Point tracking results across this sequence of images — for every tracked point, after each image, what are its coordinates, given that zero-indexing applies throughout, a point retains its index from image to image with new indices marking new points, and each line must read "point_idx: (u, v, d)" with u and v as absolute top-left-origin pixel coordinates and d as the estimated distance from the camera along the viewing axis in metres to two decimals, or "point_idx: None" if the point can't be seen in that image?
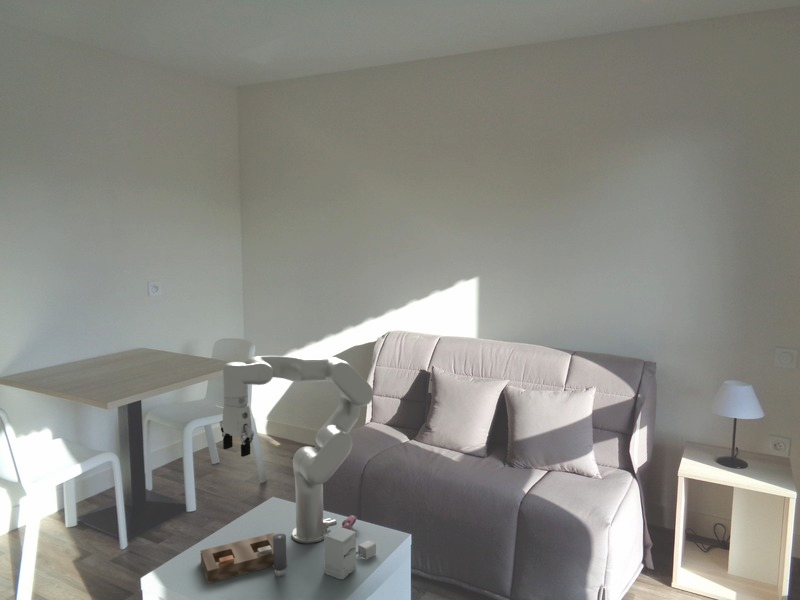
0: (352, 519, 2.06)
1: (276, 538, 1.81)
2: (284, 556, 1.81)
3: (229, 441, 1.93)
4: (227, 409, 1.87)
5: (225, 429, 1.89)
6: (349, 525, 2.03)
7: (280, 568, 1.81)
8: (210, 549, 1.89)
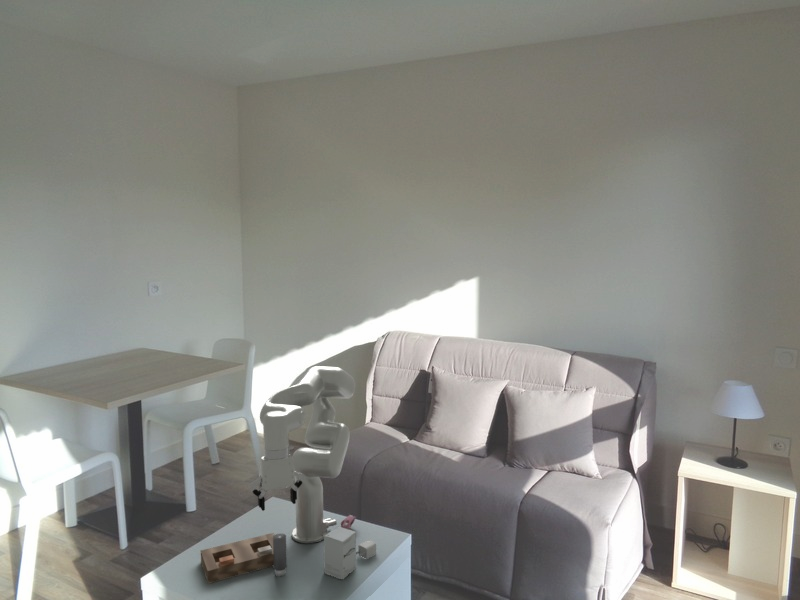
0: (351, 519, 2.06)
1: (276, 538, 1.81)
2: (284, 556, 1.81)
3: None
4: (276, 463, 1.76)
5: (269, 487, 1.76)
6: (348, 525, 2.03)
7: (280, 568, 1.81)
8: (210, 549, 1.89)
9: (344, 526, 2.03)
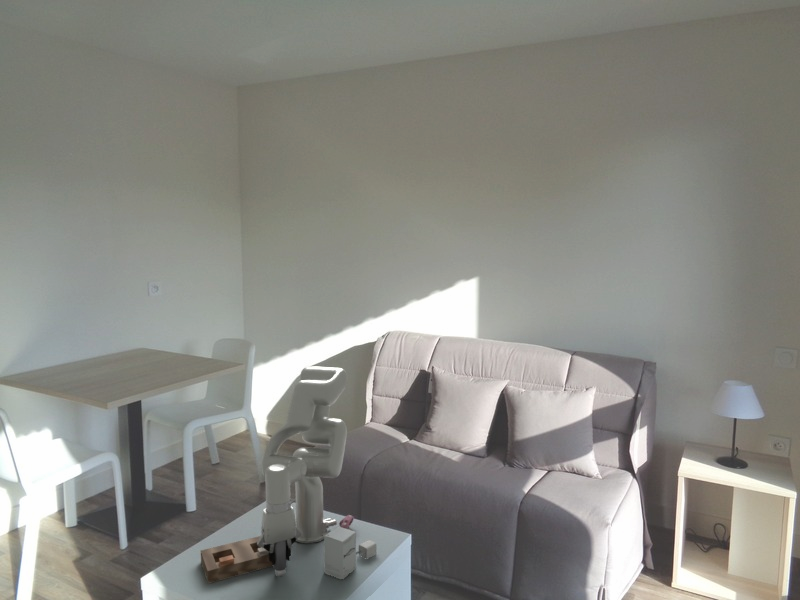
0: (349, 519, 2.06)
1: None
2: (284, 556, 1.81)
3: None
4: (278, 516, 1.78)
5: (272, 540, 1.78)
6: (346, 525, 2.03)
7: (280, 568, 1.81)
8: (210, 549, 1.89)
9: (343, 526, 2.03)
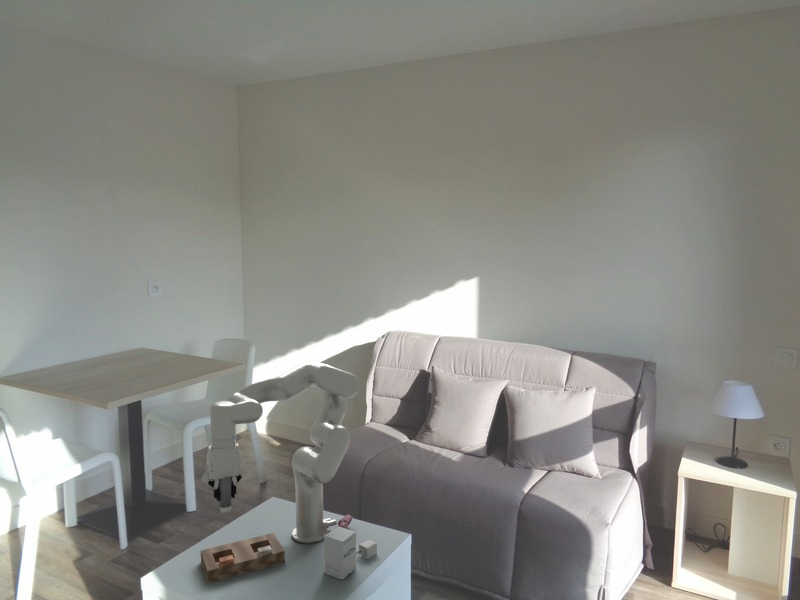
0: (348, 518, 2.06)
1: None
2: (229, 493, 1.81)
3: None
4: (223, 452, 1.79)
5: (216, 475, 1.79)
6: (345, 524, 2.03)
7: (225, 505, 1.81)
8: (210, 549, 1.89)
9: (341, 526, 2.03)
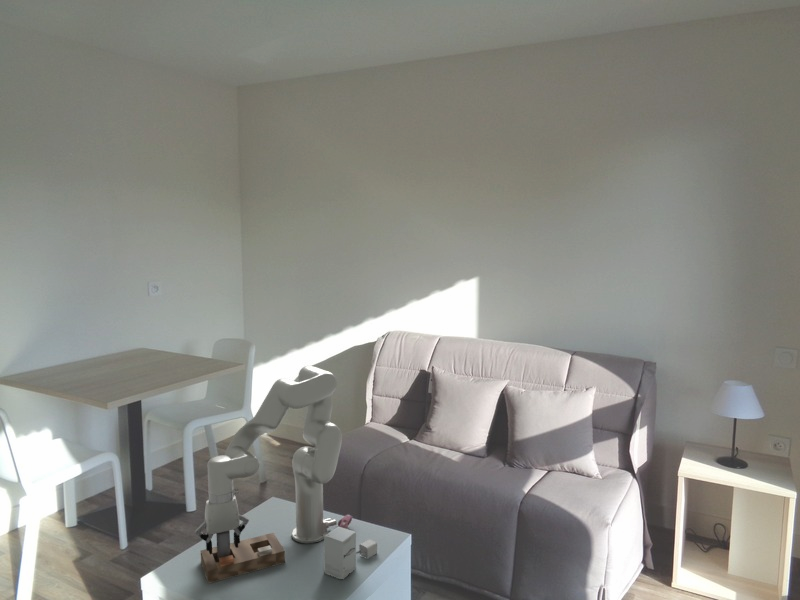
0: (348, 518, 2.06)
1: (219, 533, 1.84)
2: (227, 551, 1.84)
3: None
4: (220, 507, 1.81)
5: (214, 530, 1.81)
6: (345, 524, 2.03)
7: None
8: None
9: (342, 525, 2.03)
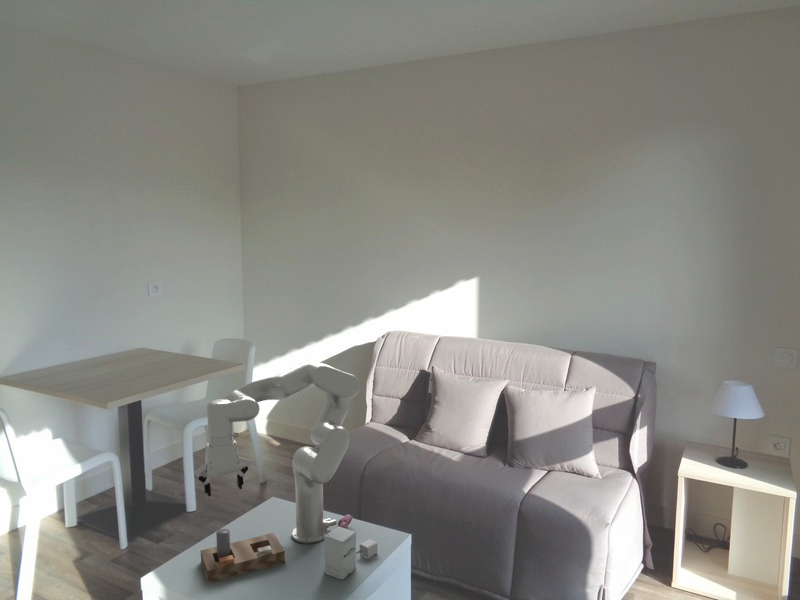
0: (348, 518, 2.06)
1: (219, 533, 1.84)
2: (227, 551, 1.84)
3: None
4: (221, 449, 1.80)
5: (215, 473, 1.81)
6: (345, 524, 2.04)
7: None
8: (210, 549, 1.89)
9: (342, 525, 2.03)
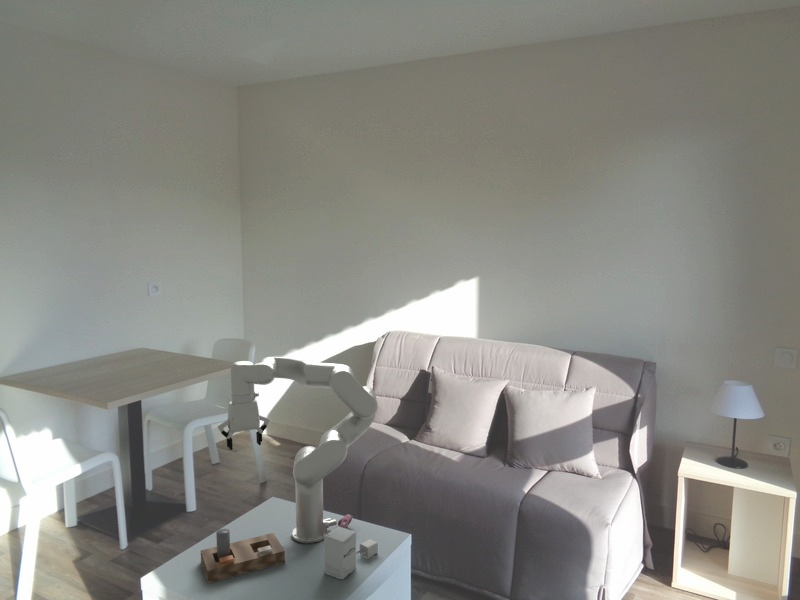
0: (348, 518, 2.07)
1: (219, 533, 1.84)
2: (227, 551, 1.84)
3: None
4: (242, 407, 1.96)
5: (236, 428, 1.96)
6: (346, 524, 2.04)
7: None
8: (210, 549, 1.89)
9: (342, 525, 2.03)
